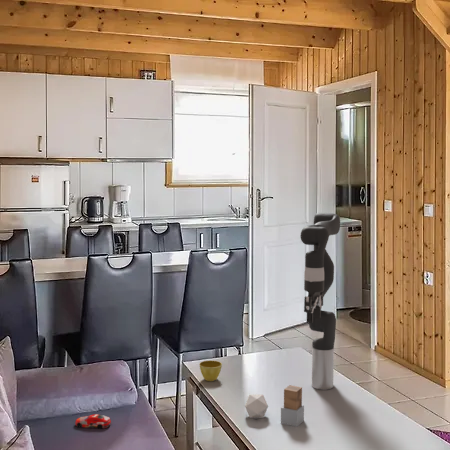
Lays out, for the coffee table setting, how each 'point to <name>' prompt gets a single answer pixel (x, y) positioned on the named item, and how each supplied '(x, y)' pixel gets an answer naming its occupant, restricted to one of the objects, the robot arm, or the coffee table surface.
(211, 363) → the flower pot
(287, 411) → the grey block
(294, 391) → the walnut block
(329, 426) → the coffee table surface
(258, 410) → the die
